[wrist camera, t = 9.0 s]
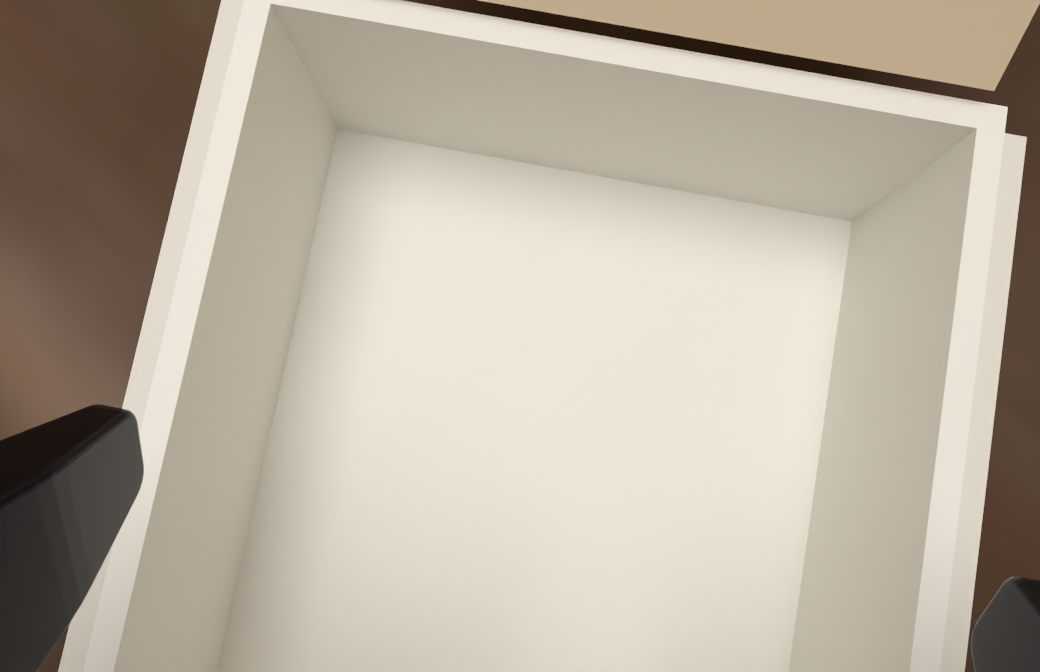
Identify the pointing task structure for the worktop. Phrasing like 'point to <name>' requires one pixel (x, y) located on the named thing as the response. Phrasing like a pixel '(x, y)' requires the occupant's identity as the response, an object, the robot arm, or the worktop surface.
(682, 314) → the carton
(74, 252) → the worktop surface
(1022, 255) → the worktop surface
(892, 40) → the flap
